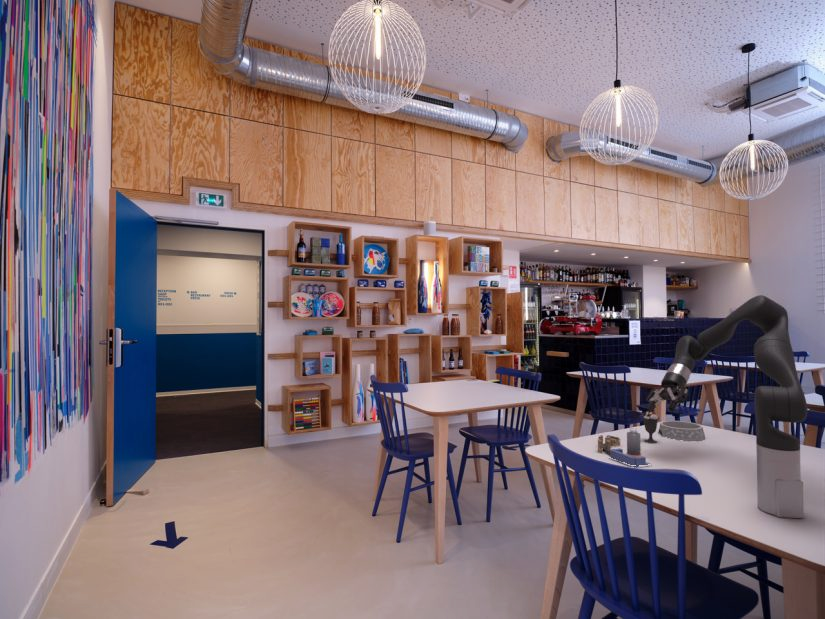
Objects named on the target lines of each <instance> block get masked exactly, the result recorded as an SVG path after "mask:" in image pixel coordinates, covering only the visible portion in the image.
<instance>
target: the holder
mask: <svg viewBox="0 0 825 619" xmlns="http://www.w3.org/2000/svg"><path fill="white" fill-rule="evenodd" d="M609 457H611V458H613V459H616V460H618V461H621V462H625V463H627V464H630V465H636V466H633V467H638V466H639V465H648V464H651V463H650V462H647V460H646V458H647V457H646V456H644V455H643V456H641V457H632V456H630V455H627V454H626V453H624V449H623V448H620V447H619V448H612V449H611V448H610V454H609ZM613 459H612V460H613ZM618 461H617V462H618ZM633 467H632V468H633Z"/></svg>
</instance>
